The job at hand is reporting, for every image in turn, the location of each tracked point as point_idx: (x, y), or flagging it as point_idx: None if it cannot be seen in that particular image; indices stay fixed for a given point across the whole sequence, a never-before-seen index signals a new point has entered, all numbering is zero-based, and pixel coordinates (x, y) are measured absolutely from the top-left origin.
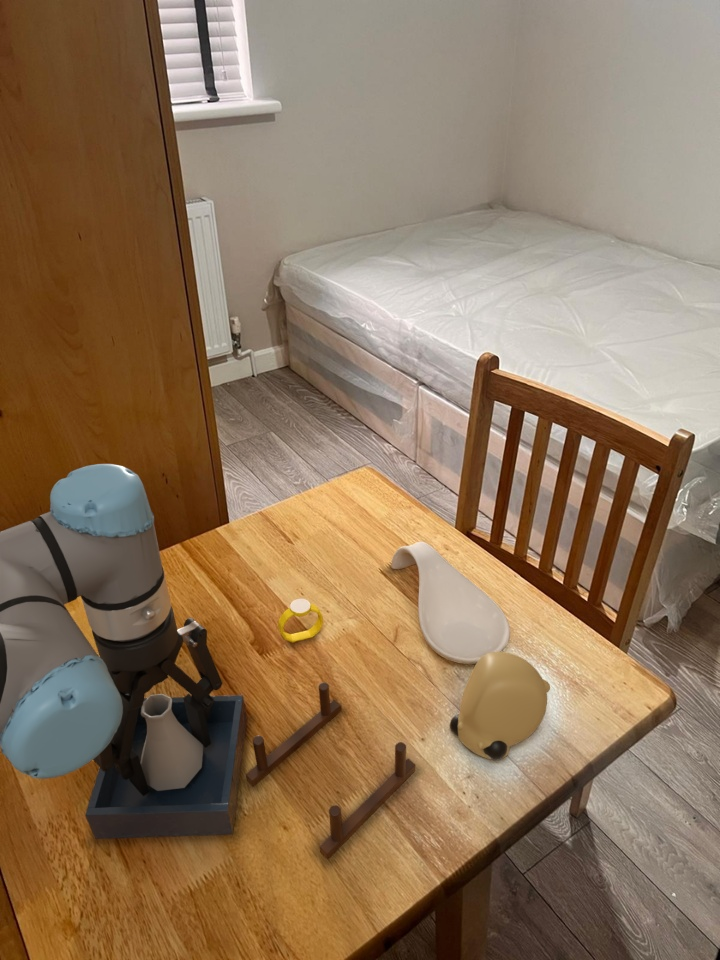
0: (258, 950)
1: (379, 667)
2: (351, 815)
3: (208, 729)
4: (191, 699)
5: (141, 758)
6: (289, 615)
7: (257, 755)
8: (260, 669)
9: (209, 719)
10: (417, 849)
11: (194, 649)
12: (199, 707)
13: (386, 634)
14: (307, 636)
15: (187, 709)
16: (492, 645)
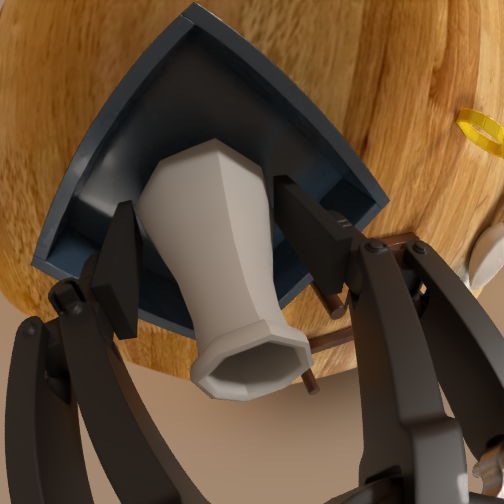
0: (187, 379)
1: (456, 221)
2: (321, 346)
3: (299, 153)
4: (343, 258)
5: (153, 190)
6: (499, 139)
7: (318, 297)
8: (415, 115)
9: (315, 146)
10: (326, 363)
11: (477, 436)
12: (336, 288)
13: (481, 195)
14: (466, 132)
15: (312, 224)
16: (481, 272)
